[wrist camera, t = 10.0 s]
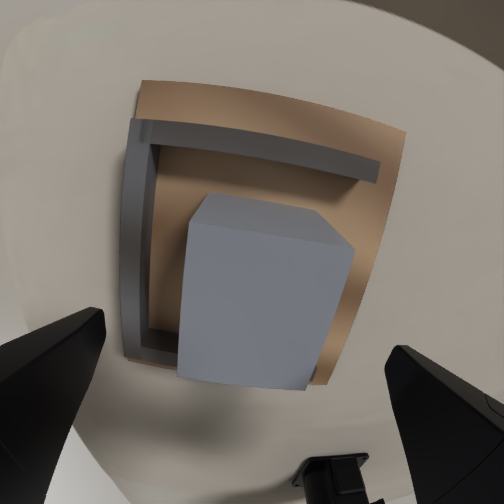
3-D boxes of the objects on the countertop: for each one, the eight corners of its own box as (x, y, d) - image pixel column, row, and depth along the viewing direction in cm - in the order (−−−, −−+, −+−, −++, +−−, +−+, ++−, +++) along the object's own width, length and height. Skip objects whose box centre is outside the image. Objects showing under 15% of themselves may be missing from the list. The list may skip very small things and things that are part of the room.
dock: (324, 378, 19) (332, 404, 16) (130, 354, 17) (119, 379, 15) (400, 132, 13) (425, 132, 11) (145, 82, 12) (128, 72, 10)
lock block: (287, 317, 16) (304, 390, 11) (195, 304, 15) (177, 376, 10) (314, 209, 14) (355, 249, 9) (209, 191, 13) (189, 221, 8)
